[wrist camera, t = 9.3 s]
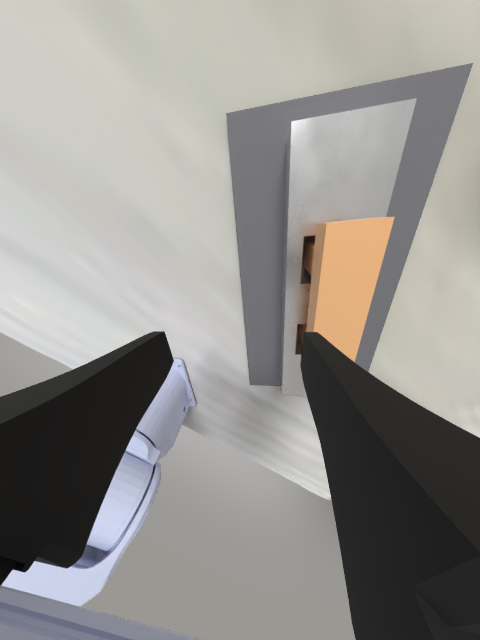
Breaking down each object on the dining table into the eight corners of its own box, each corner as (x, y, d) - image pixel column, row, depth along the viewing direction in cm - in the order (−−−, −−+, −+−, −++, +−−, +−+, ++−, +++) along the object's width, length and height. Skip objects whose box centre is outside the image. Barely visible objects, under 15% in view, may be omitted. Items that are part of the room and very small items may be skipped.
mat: (359, 385, 22) (362, 389, 22) (250, 381, 25) (250, 384, 24) (462, 71, 10) (473, 63, 10) (228, 118, 12) (226, 113, 12)
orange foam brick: (323, 343, 20) (346, 392, 14) (295, 343, 20) (306, 390, 14) (342, 219, 14) (394, 216, 8) (302, 223, 14) (326, 223, 9)
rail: (330, 376, 22) (339, 397, 19) (280, 374, 23) (282, 394, 20) (382, 127, 11) (417, 97, 9) (286, 143, 12) (291, 121, 10)
